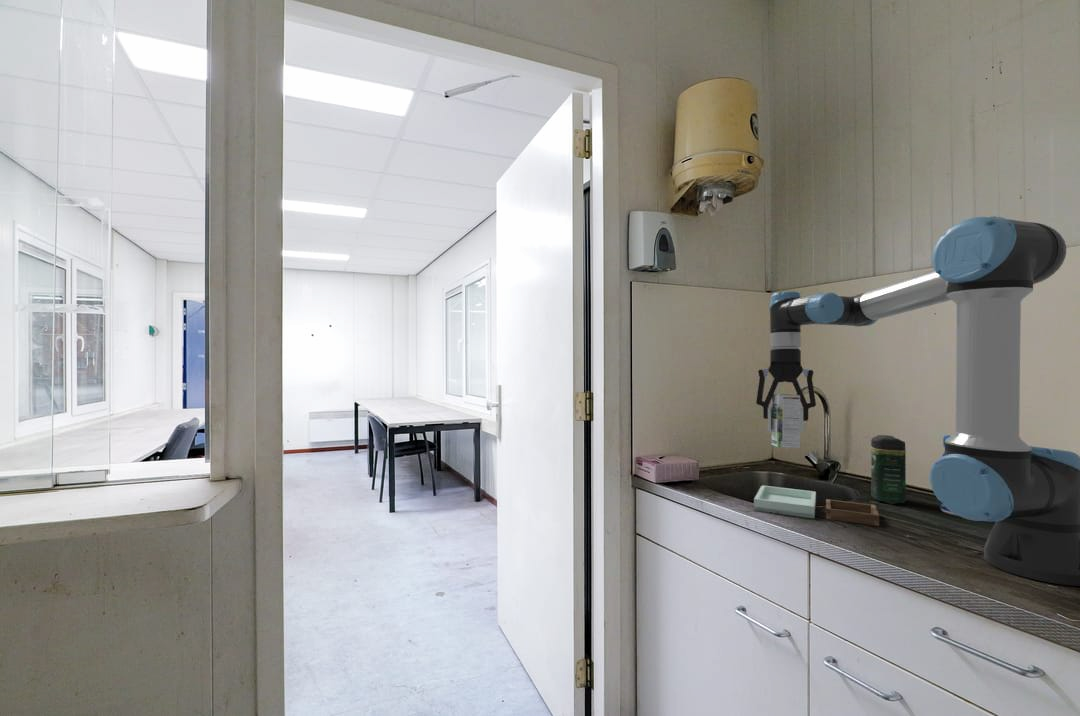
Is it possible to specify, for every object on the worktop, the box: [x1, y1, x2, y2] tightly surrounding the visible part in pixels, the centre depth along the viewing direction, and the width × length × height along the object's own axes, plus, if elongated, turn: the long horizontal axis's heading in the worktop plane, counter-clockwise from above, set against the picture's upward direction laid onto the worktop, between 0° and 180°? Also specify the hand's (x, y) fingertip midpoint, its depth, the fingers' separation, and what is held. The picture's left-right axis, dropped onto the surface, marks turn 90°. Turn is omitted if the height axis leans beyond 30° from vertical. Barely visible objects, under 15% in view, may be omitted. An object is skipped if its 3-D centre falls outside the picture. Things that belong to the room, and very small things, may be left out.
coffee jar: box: [870, 434, 907, 504], centre depth 142 cm, size 10×8×19 cm
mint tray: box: [753, 484, 817, 520], centre depth 134 cm, size 18×14×3 cm
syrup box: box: [771, 392, 801, 449], centre depth 135 cm, size 6×6×14 cm
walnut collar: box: [825, 498, 880, 527], centre depth 125 cm, size 11×11×2 cm
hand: (785, 431), depth 135 cm, fingers closed on syrup box, 7 cm apart
